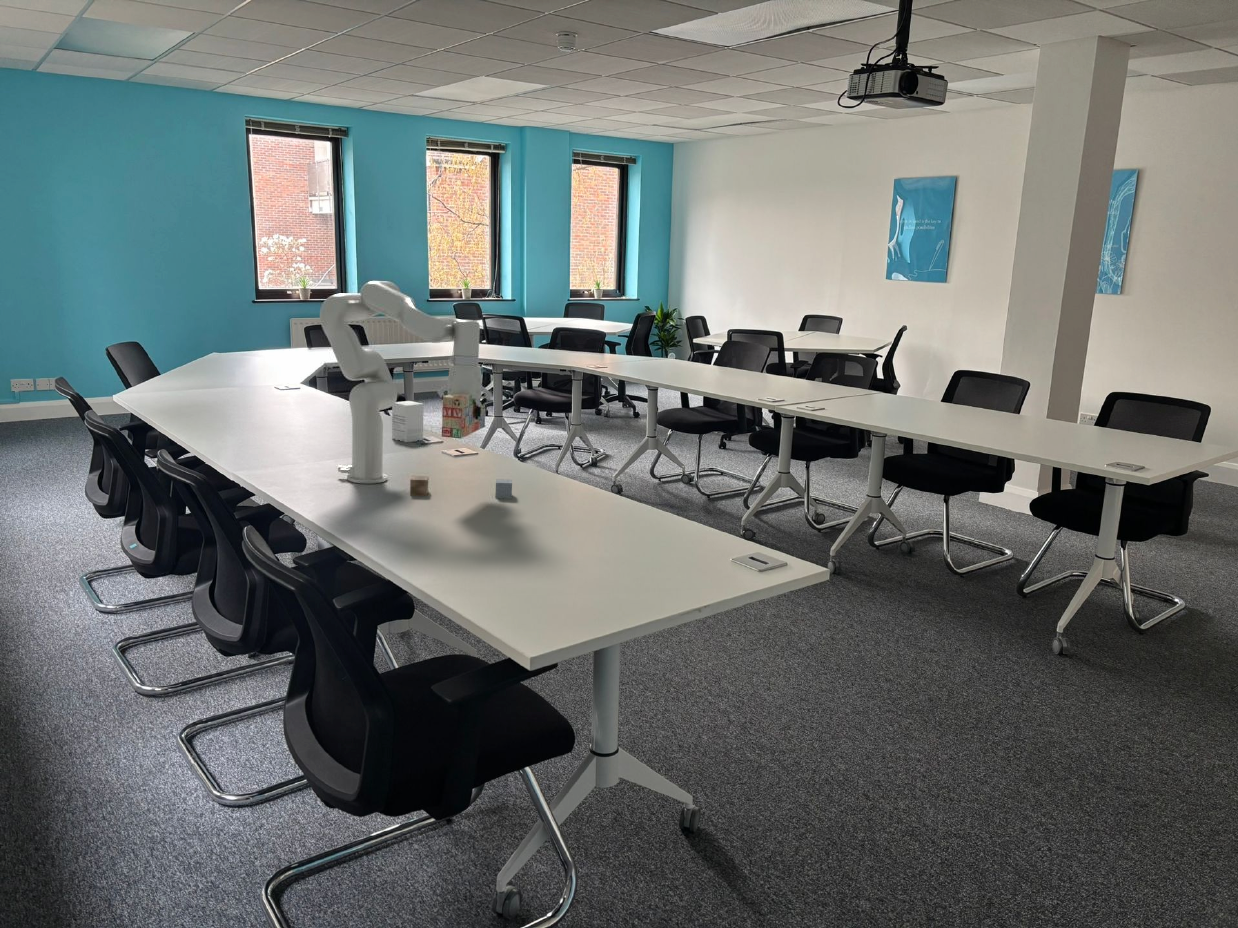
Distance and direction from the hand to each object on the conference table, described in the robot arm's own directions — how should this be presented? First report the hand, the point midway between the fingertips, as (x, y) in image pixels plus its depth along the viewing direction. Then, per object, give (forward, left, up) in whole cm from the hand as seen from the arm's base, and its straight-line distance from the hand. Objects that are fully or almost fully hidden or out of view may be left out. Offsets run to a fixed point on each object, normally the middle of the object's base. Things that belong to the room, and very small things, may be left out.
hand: (463, 417), depth 272 cm
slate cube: (+13, -1, -24) cm, 28 cm away
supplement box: (-26, +83, -24) cm, 90 cm away
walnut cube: (-13, -1, -24) cm, 27 cm away
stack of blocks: (0, 0, -5) cm, 5 cm away
